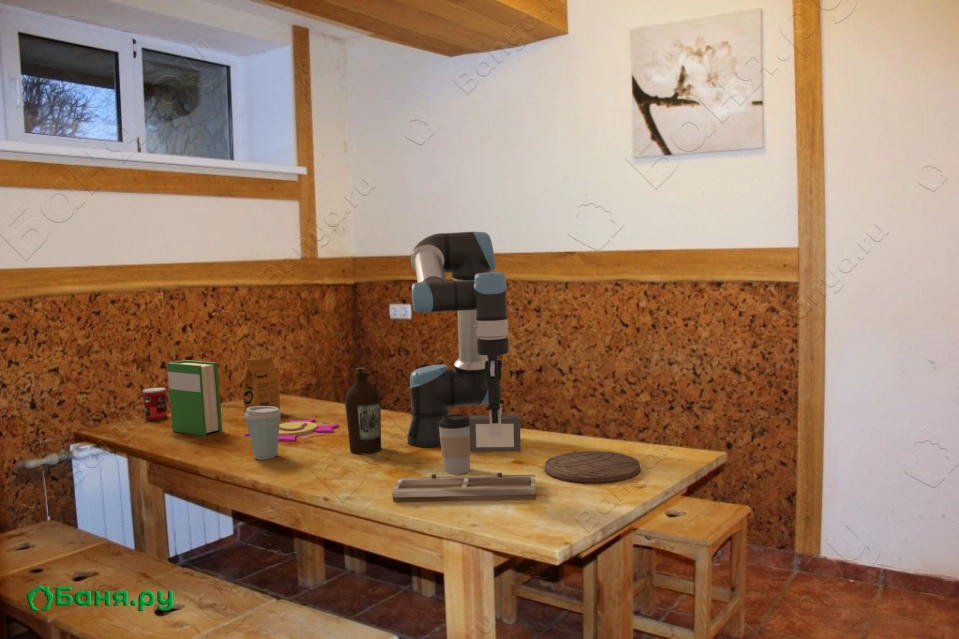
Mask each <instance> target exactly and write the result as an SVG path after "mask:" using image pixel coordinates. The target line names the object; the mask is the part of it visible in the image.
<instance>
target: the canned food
mask: <svg viewBox="0 0 959 639" xmlns="http://www.w3.org/2000/svg"><path fill="white" fill-rule="evenodd" d="M142 400H143V408H144V409H143V410H144V411H143V412H144V418H145V419H146V420H148V421H155V420H156V421H157V420H162V419H166V418H167V417H168V407H167V402H168V401H167V390H166V388H165V387H151V388H150V387H149V388H145V389H143V390H142Z"/></svg>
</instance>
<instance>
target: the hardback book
mask: <svg viewBox="0 0 959 639" xmlns="http://www.w3.org/2000/svg"><path fill="white" fill-rule="evenodd" d="M166 366H167V378H168V388H169V389H168V390H169V402H170V404H169V405H170V414H171V425H172V426H171V428H172V431H173V432H175V433H177V432H178V433H183V434H188V433H190V434H189V435H194V434H197V435H196V436H200V435H203V436H202V437H205V435H206V436H207V434H209V433H212V432H217V431H219V433H222V432H223V420H222V409H221V406H222V405H221V397H220V396H221V395H220V392H221V391H220V381H219V380H220V379H219V369H218V367H219V366H218V362H217V361H216V362H215V361H200V360H191V359H190V360H188V359H186V360H177V361H172V362H167V364H166ZM221 431H222V432H221Z"/></svg>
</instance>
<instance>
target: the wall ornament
mask: <svg viewBox="0 0 959 639" xmlns="http://www.w3.org/2000/svg"><path fill="white" fill-rule="evenodd" d="M313 421H314V422H313ZM315 421H316V418H309V419H308V418H307V419H302V420H299V419H290V420H289V422H281V423H282V424H280V426H279V438H278V441H279V442H288V441H292V442H291V443H294V442H293V441H296V439H297V438H299V436H300V438H299V439H301V438H302V439H301V440H303V441H306V440H307V438H308V439H310V438H311V436H312V437H319V436H326V434H334V433H335V431H334V429H336V428H339V427H340V424H329V423H328V424H326V423H323V422H322V421H319V422H318V421H317V422H318V423H317V422H315ZM314 432H316V433H314ZM248 435H249V432H246V433H244V436H243V437H248V438H249V439H250V436H248ZM296 436H297V437H296ZM309 437H310V438H309ZM295 438H296V439H295Z"/></svg>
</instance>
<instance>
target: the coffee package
mask: <svg viewBox="0 0 959 639" xmlns="http://www.w3.org/2000/svg"><path fill="white" fill-rule="evenodd" d="M246 364H247V367H246V373H245V375H244V378H243V382H242V390H241V391H242V403H243V414H244V415H245V413H246V409H247V408H249V407H254V406H272V407H277V408H279V409H280V410H281V399H280V398H281V397H280V383H279V375H278V371H277V368H276V365H275V363H274V360H273V357H272V355H268V356H265V357H262V358H247V359H246Z"/></svg>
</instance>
